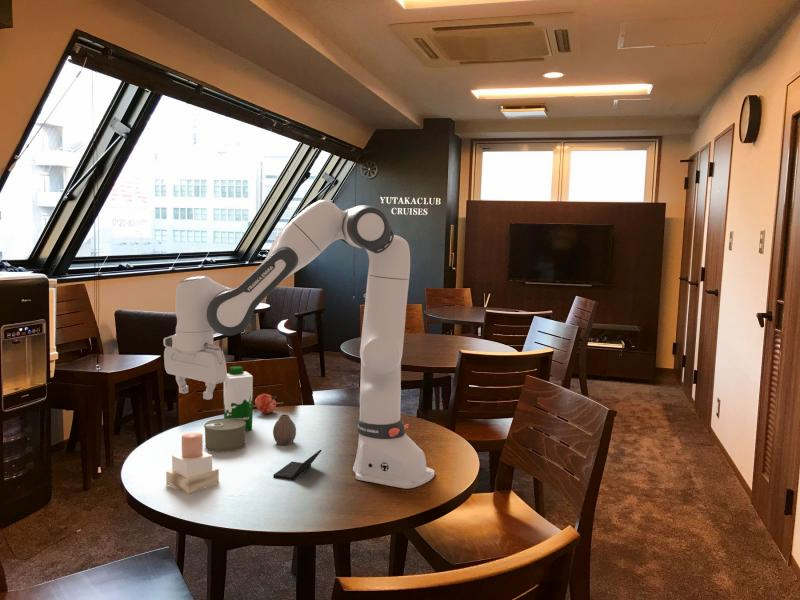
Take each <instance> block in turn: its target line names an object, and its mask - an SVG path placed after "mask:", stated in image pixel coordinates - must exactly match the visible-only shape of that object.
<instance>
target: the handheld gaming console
mask: <svg viewBox="0 0 800 600" xmlns="http://www.w3.org/2000/svg"><path fill="white" fill-rule="evenodd" d="M321 452H322V449H319V450H318V451H317V452H315V453H314V454H312V455H311V456H310V457H308V458H307V459H306V460H305V461H304V462H298V461H291V462H289V463H288V464H286V465H284V467H282V468H280V470H279V471H277V472H275V473H273V475H272V477H273V479H279V480H286V481H287V480H288V481H295V480H296V479H297V478H298V477H300V476H301V475H302V474H303V473H305V471H307V470H308V469H310V468H311V467H312V463H313V462H314V461H315V460H316V459H317V457H318V456H320V454H321Z"/></svg>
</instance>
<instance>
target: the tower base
mask: <svg viewBox="0 0 800 600" xmlns="http://www.w3.org/2000/svg"><path fill="white" fill-rule="evenodd" d="M219 469H220V468H217V467H214V466H212V471H209V472H206V473H203V474H199V475H196V476H193V477H189V478H186V477H184V476H182V475H180V474H178V473H176V472H174V471H172V469H170V470H167V471H165V473H166V474H165V476H166V477H165V479H166V480H165V481H166V486H167V485H169V486H168V487H170V486H171V487H170V488H172V487H173V489H175V488H176V489H175V490H177V489H178V491H180V492H182V491H183V493H185V494H188V495H190V493H191V494H193V493H196V492H198V491H201V490H203V488H204V489H206V488H208V486H209V487H211V486H214V485H216V483H217V484H218V483H220V482H219V479H220V476H219V473H220V472H219V471H220V470H219ZM213 484H214V485H213ZM210 485H211V486H210ZM205 487H206V488H205ZM200 489H201V490H200ZM195 491H196V492H195Z"/></svg>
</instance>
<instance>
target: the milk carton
mask: <svg viewBox="0 0 800 600" xmlns="http://www.w3.org/2000/svg"><path fill="white" fill-rule="evenodd" d="M253 383H254V376H253V375H252V374H251V373H249V372H248V371H243V366H240V365H233V366H229V372H227V379H226V380H225V382H223V418H236V419H241V420H244V421H245V422H246V425H245V432H247V431H252V430H253V415H254V414H253V412H254V411H253V410H254V409H253V408H254V407H253V405H254V404H253V403H254V401H253V399H254V398H253V391H254V390H253V389H254V388H253Z"/></svg>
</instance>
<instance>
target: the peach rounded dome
mask: <svg viewBox="0 0 800 600" xmlns="http://www.w3.org/2000/svg"><path fill="white" fill-rule="evenodd" d="M203 443H204V442H203V434H202V433H200V432H188V433H184V434H182V435H181V453H182V457H183V458H197V457H200V456H202V455H203V452H204V450H203V446H204V445H203Z"/></svg>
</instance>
